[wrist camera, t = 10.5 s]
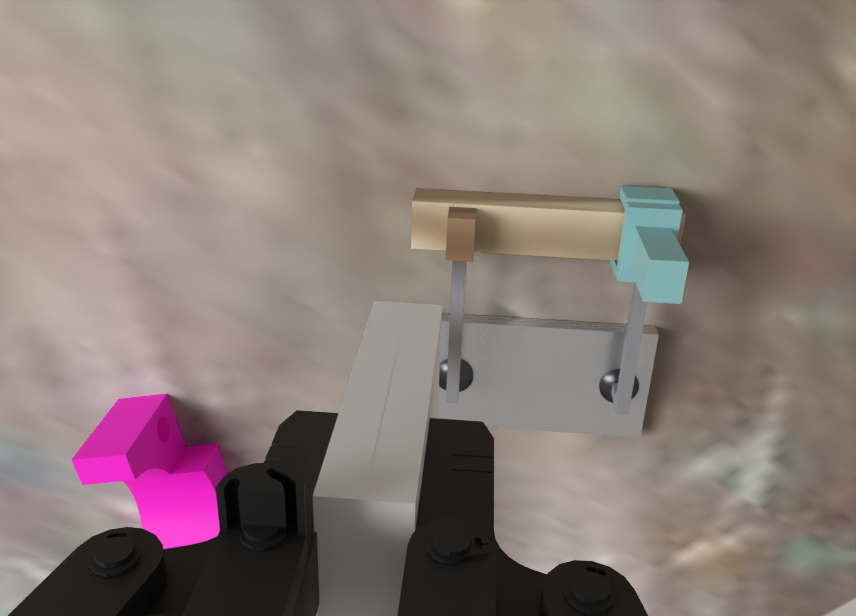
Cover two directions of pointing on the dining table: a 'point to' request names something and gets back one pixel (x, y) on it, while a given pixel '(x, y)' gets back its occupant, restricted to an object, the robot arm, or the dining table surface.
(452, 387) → the rail
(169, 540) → the toy block
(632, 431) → the bolt plate
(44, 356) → the dining table surface
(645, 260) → the sliding trammel head
